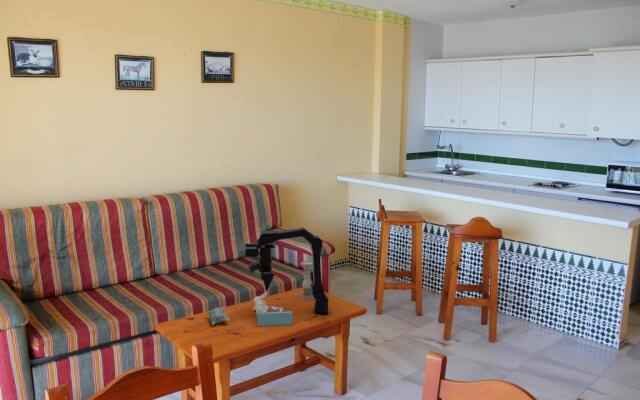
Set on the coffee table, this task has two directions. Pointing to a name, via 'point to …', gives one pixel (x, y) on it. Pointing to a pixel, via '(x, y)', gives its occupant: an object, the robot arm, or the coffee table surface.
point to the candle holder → (307, 281)
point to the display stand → (274, 318)
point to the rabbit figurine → (260, 304)
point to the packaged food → (217, 315)
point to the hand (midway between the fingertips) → (265, 287)
